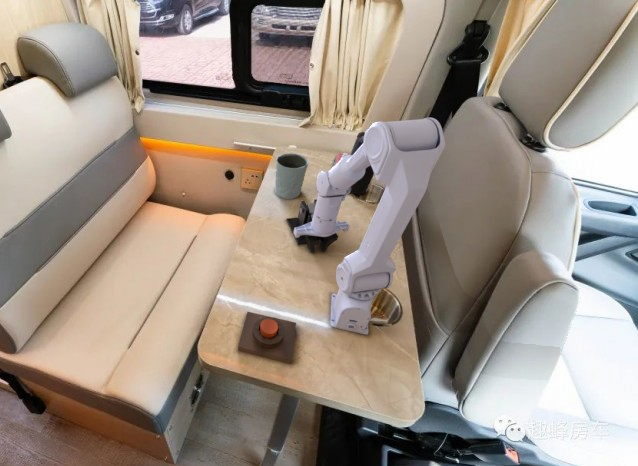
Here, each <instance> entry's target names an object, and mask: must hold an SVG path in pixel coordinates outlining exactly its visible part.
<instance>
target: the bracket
mask: <svg viewBox="0 0 638 466" xmlns="http://www.w3.org/2000/svg"><path fill="white" fill-rule="evenodd" d="M316 202H317V198H316V199H315V198H314V200H313V203H315V205H316ZM308 215H309V208H308V206H307V203H306V201H305V200H300V204H299V207H298V215H297V217H288V218H286V220H285V221H286V224H287V225H288V227H289V229H290V231H291V233H292V236H293V237H294V239H295V242H296V244H297V246H300V245H307V240H306V236H305V235H300V237H298V238H296V237H295V235H294V228H295V227H300V226H302V225H305V224H307V223H310V222H311V219H310V216H308Z"/></svg>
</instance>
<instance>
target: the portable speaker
mask: <svg viewBox="0 0 638 466" xmlns="http://www.w3.org/2000/svg"><path fill="white" fill-rule="evenodd" d="M364 135H365V131H361V132H358V134H357V136H356V139H355V141H354V144H353V146H352V148H351V152H350V155H353V154H354V153H355V152H356V151H357V150H358V149H359V147H360V146H361V145H362V144H363V143H364ZM374 176H375V174H374V172H373V169H372V167H371V165H370V166H369V167H367V168H365V174H364V176H363V177H362V178H361V179H360V180H358V181H357V182H356V183H354V184H353V185H352V186H351V191H350V193H349V194H355V195H356V196H358V197H361V196H364V195H365V194H366V193H367V191H368V189H369V187H370V184H371V182H372V181H373V177H374Z"/></svg>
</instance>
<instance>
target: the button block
mask: <svg viewBox="0 0 638 466" xmlns="http://www.w3.org/2000/svg"><path fill="white" fill-rule="evenodd" d="M265 319H272V320H274V321H275V322H276V323H277V325H278V330H277V334H276V336H275V337H273V338H266V337H264V336H263V335H262V334H261V332H260V325H261V322H262V321H263V320H265ZM296 327H297V322H294V321H291V320H286V319H281V318H278V317H272V316H270V315H264V314H259V313H256V312H251V311H247V312H246V315H245V319H244V323H243V326H242V330H241V334H240V337H239V342H238V344H237V351H238V352H242V353H245V354H249V355H252V356H253V355H254V356H257V357H259V358H260V357H261V358H265V359H268V360H272V361H276V362H281V363H285V364H287V365H290V364H291V362H292V357H293V349H294V343H295V336H296V334H295V333H296Z"/></svg>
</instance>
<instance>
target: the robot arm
mask: <svg viewBox="0 0 638 466" xmlns="http://www.w3.org/2000/svg"><path fill="white" fill-rule="evenodd" d="M364 132H365V135H364V143H363V144H362V145H361V146H360V147H359V149H358V150H357V151H356V152H355V153H354V154H353V155H351V154H348V155H343V156H342V157H341V160H340V161H339V162H338V163H337V164H336V165H334V164H333V166H332V168H331V169H329V170H328V171H325V170H323V171H319V173H318V175H317V177H316V190H317V198H316V199H317V202H316V206H315V211H314V215H313V219H312V222H310V223H307V224H305V225H302V226H300V227H295V228H294V235H295V237H296V238H298V237H300V235H305V236H306V240H307V244H306V245H307V249H308V251H309V253H310V254H313V253H314V252H315V248H316V246H317V245H316V244H317V243H318V240H317V238H316V236H320V237H323V238H324V242H323V244H322V245H320V246H319V247H320V249H321V251H322V252H326V251H327V250H328V248H329V247H330V246H331V245H332V244H334V242H337V241H338V239H339V234H338V233H339V232H341V231H343V232H344V233H348V232H349V230H350V228H351V226H350V225H349V223H348V221H340V220H339V221H338V220H337V219H338V215H339V211H340V209H341V205H342V202H344V201H345V200H346V197H347V196H348V195H349V194H351V193H350V191H351V186H352V185H353V184H354V183H356V182H357V181H358V180H360V179H361V178H362V177H363V176H364V174H365V168H367V167H369V166H370V165H371V167H372V169H373V172H374V176H375V179H376V182H379V183H381V184H383V185H385V189H384V190H383V193H382V195H381V197H380V200H379V202H378V205H377V206H376V209H375V211H374V214H373V216H372V218H371V221H370V223H369V225H368V227H367V229H366V232H365V234H364V237H363V238H362V240H361V244H360V245H359V247H358V249H357V250H355V251H353V252H352V253H350V254H348V255H346V256H344V258H343V260H342V261H341V262H340V263H339V264H338V265H337V267H336V269H335V281H336V285H337V286H338V291H337V293H335V292H332V293H331V302H330V320H329V321H330V323H329V326H330V327H331V328H334V329H339V330H344V331H347V332H352V333H357V334H361V335H366V336H368V335H369V323H370V321H371V318H372V304H373V302H374V300H375V298H376V296H377V294H379V293H381V292H382V289H388V288H390V287H391V286H392V284H393V280H394V273H395V271H396V270H397V267H396V265H395V262H394V261H393V259H392V258H391V255H392V253H393V251H394V250H395V248H396V246H397V245H398V242H399V241H400V239H401V237H402V236H403V234H404V232H405V230H406V228H407V226H408V225H409V223H410V221H411V219H412V218H413V216H414V214H415V212H416V210H417V208H418V206H419V205H420V203H421V201H422V199H423V198H424V196H425V194H426V191H427V189H428V186H429V183H430V179H431V174H432V171H433V170H434V168H435V166H436V165H437V162H438V161H439V158H440V157H441V155H442V153H443V151H444V149H445V147H446V139H445V136H444V131H443V128H442V125H441V123H440V122H439V120H437V119H436V118H434V117H424V118H420V119H419V118H418V119H408V120H407V119H406V120H395V121H394V120H393V121H379V120H378V121H375V122H373V123H372V124H371V125H370V126H369V128H368V129H366V130H365V131H364ZM294 235H293V236H294Z"/></svg>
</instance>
